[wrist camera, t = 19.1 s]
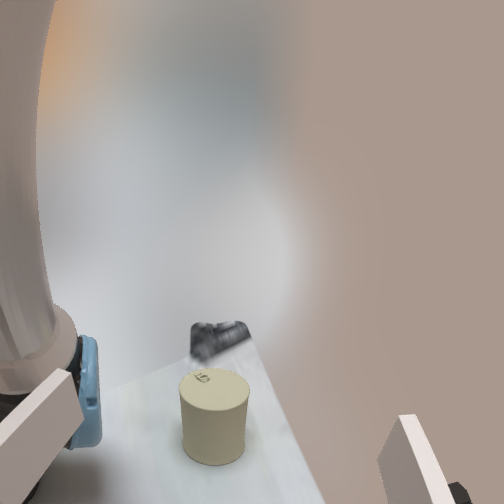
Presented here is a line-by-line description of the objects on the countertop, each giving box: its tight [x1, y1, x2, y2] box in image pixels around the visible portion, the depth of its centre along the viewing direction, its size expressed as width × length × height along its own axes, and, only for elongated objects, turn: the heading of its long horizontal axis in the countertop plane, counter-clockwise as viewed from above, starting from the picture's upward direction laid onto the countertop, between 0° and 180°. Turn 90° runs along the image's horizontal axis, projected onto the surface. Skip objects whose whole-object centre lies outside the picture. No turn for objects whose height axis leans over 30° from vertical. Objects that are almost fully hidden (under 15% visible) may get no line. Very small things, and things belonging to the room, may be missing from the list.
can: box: [179, 368, 250, 465], centre depth 38 cm, size 9×9×12 cm
